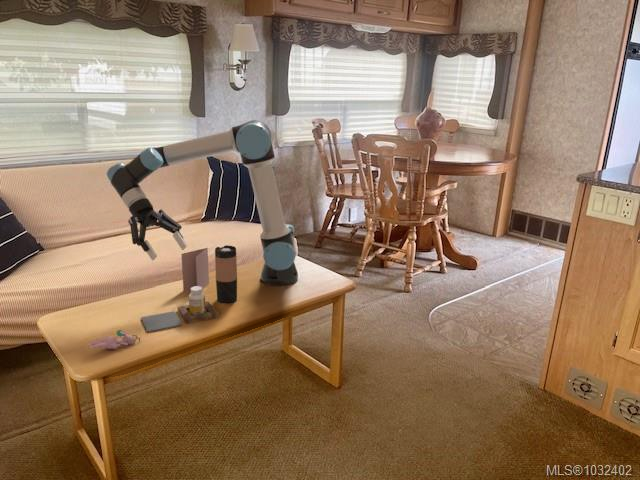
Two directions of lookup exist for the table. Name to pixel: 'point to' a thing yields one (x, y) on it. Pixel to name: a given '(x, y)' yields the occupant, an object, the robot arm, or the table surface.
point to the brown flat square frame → (198, 317)
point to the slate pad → (161, 321)
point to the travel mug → (226, 274)
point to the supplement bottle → (197, 301)
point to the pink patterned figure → (114, 341)
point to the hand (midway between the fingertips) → (170, 252)
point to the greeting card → (195, 269)
